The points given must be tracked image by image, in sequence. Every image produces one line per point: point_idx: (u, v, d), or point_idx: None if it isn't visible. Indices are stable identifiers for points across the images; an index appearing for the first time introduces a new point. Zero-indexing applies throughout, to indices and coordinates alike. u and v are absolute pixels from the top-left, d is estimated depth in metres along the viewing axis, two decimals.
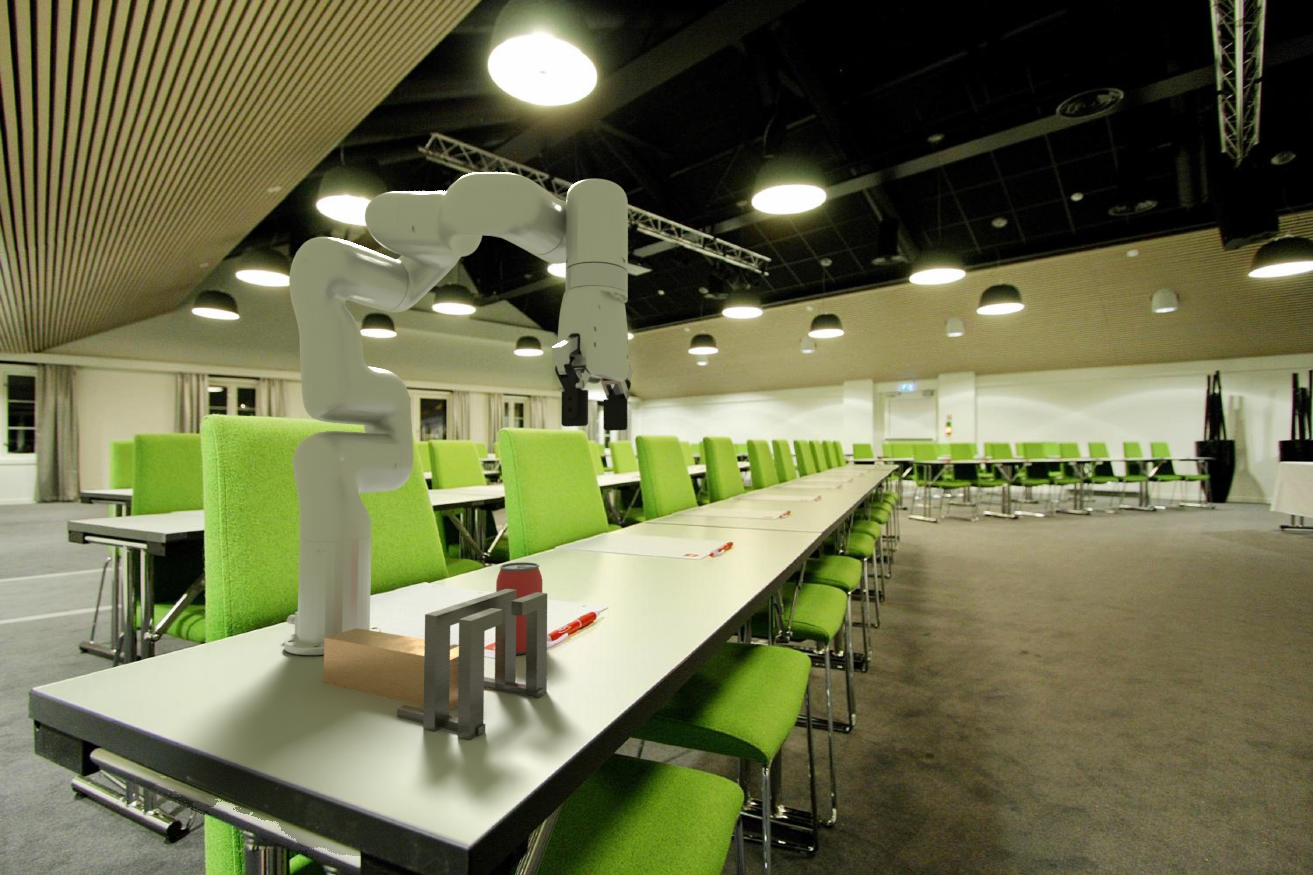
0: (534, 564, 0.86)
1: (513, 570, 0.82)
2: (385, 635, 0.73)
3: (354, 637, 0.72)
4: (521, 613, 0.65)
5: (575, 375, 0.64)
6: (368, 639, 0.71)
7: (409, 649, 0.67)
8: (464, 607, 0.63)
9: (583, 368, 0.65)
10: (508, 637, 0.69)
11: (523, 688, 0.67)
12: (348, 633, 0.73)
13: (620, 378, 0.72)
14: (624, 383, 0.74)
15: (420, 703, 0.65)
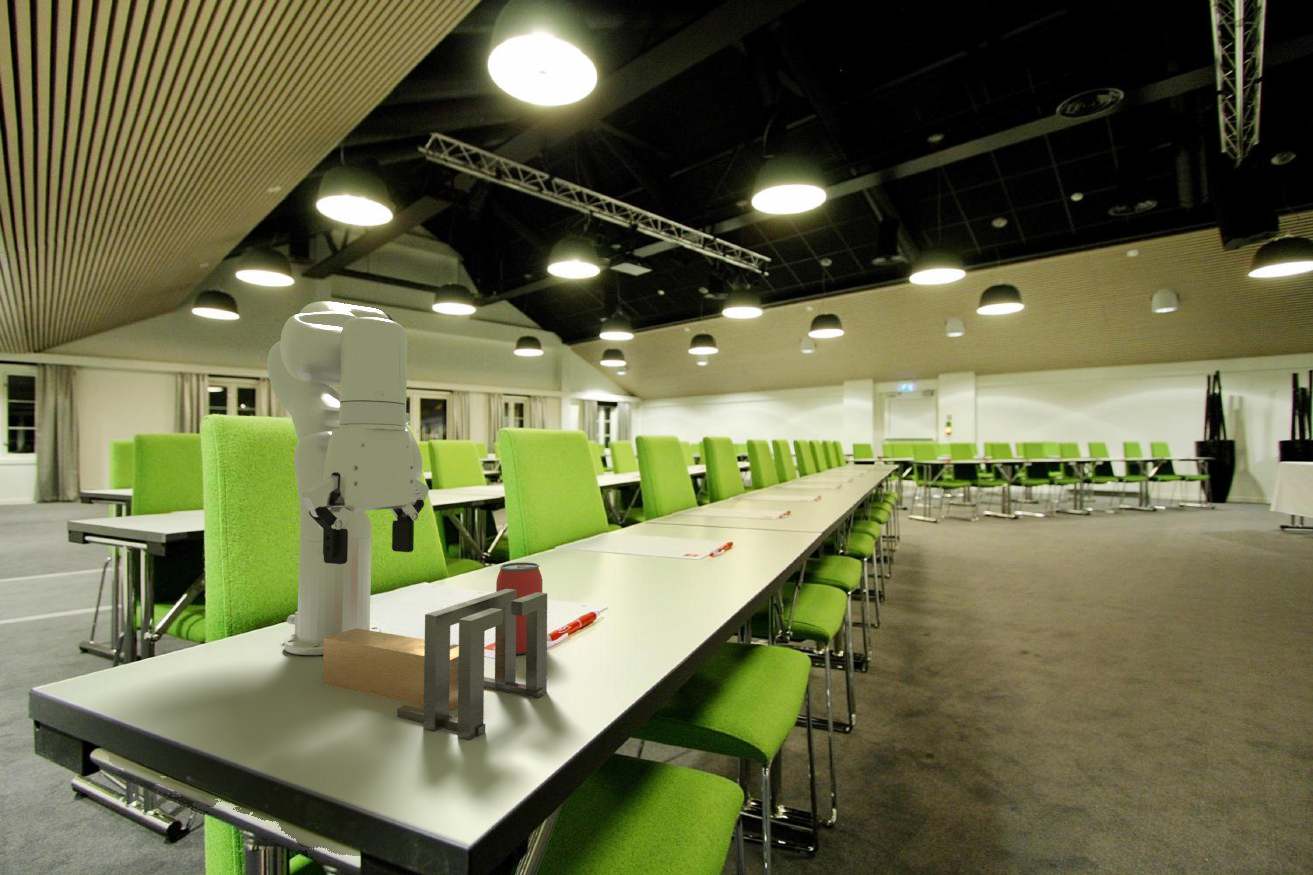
0: (534, 564, 0.86)
1: (513, 570, 0.82)
2: (385, 635, 0.72)
3: (353, 637, 0.72)
4: (521, 613, 0.65)
5: (331, 516, 0.66)
6: (367, 639, 0.71)
7: (409, 649, 0.67)
8: (464, 607, 0.63)
9: (343, 507, 0.67)
10: (508, 637, 0.69)
11: (523, 688, 0.67)
12: (348, 633, 0.73)
13: (399, 505, 0.74)
14: (410, 506, 0.76)
15: (420, 703, 0.65)
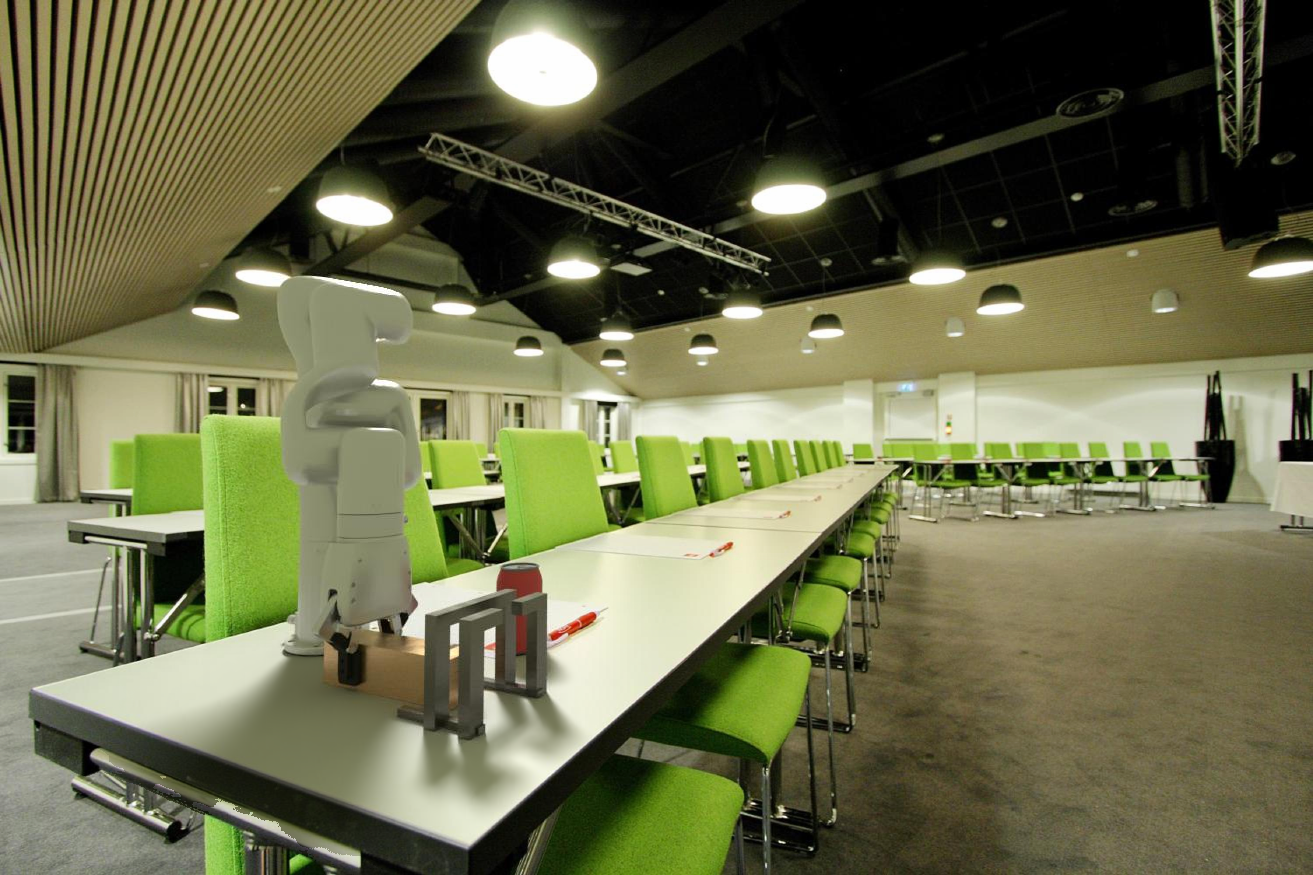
0: (534, 564, 0.86)
1: (513, 570, 0.82)
2: (385, 634, 0.72)
3: None
4: (521, 613, 0.65)
5: (343, 644, 0.67)
6: (368, 639, 0.71)
7: (409, 648, 0.67)
8: (464, 607, 0.63)
9: (350, 630, 0.68)
10: (508, 637, 0.69)
11: (523, 688, 0.67)
12: (348, 633, 0.73)
13: (397, 612, 0.73)
14: (394, 623, 0.73)
15: (420, 703, 0.65)
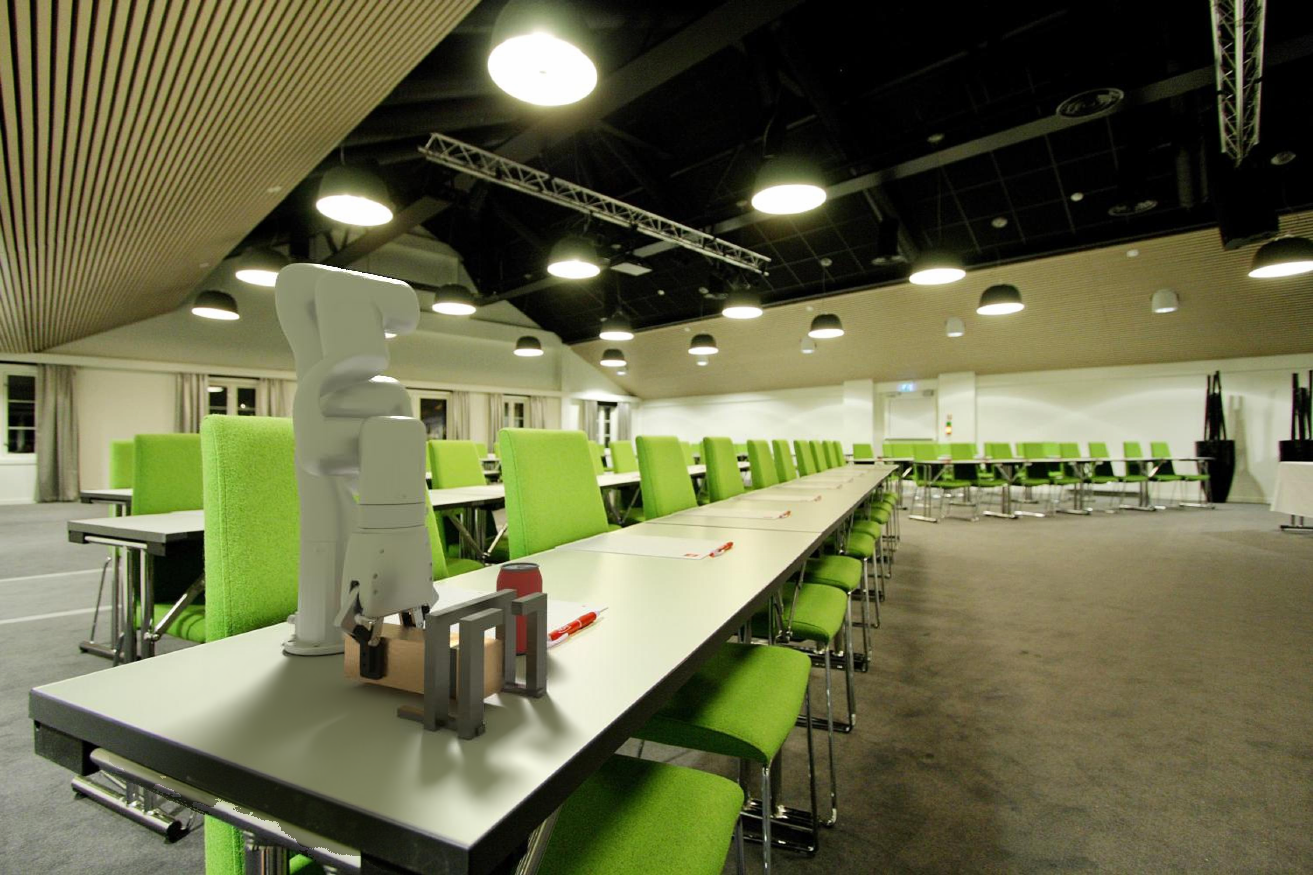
0: (534, 564, 0.86)
1: (513, 570, 0.82)
2: (407, 627, 0.71)
3: None
4: (521, 613, 0.65)
5: (365, 636, 0.66)
6: (389, 632, 0.69)
7: None
8: (464, 607, 0.63)
9: (372, 622, 0.67)
10: (508, 637, 0.69)
11: (523, 688, 0.67)
12: (369, 626, 0.72)
13: (419, 605, 0.72)
14: (415, 616, 0.72)
15: None
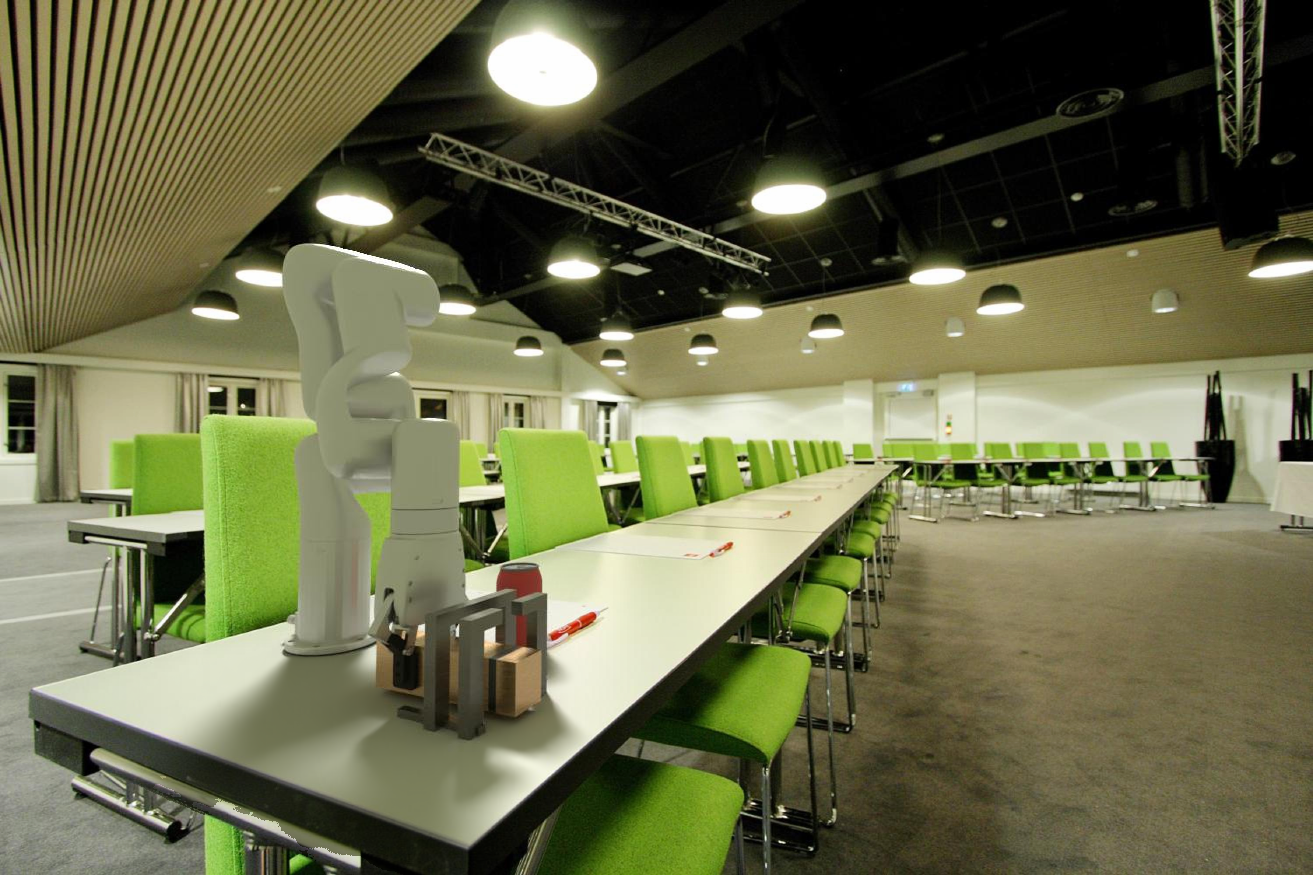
0: (534, 564, 0.86)
1: (513, 570, 0.82)
2: None
3: None
4: (521, 613, 0.65)
5: (399, 645, 0.64)
6: (423, 640, 0.67)
7: None
8: (464, 607, 0.63)
9: (407, 631, 0.64)
10: (508, 637, 0.69)
11: None
12: None
13: None
14: None
15: (484, 708, 0.61)
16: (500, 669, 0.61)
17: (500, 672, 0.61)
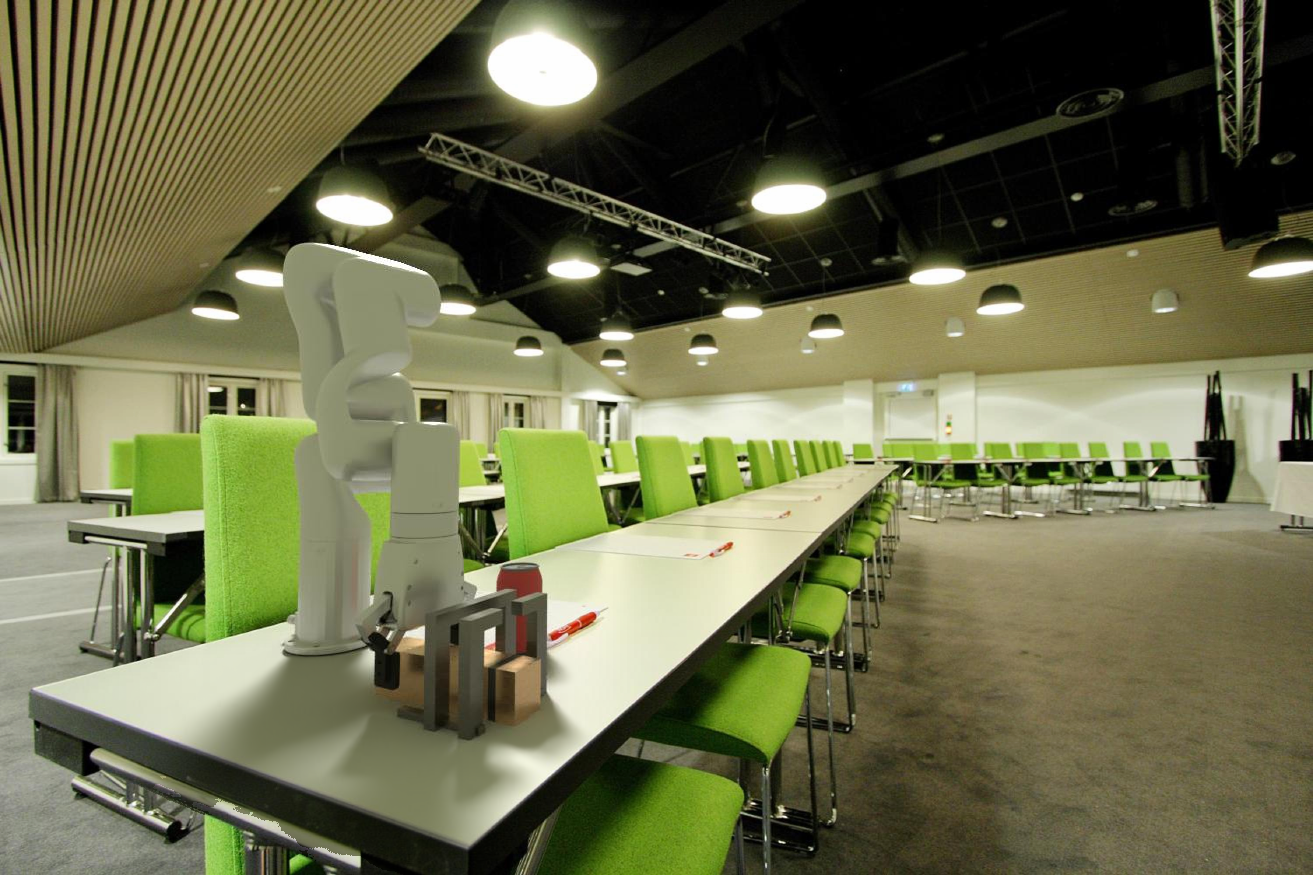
0: (534, 564, 0.86)
1: (513, 570, 0.82)
2: None
3: (407, 646, 0.68)
4: (521, 613, 0.65)
5: (384, 640, 0.62)
6: (422, 649, 0.67)
7: None
8: (464, 607, 0.63)
9: (395, 628, 0.64)
10: (508, 637, 0.69)
11: None
12: None
13: None
14: None
15: None
16: (500, 679, 0.61)
17: (499, 681, 0.61)
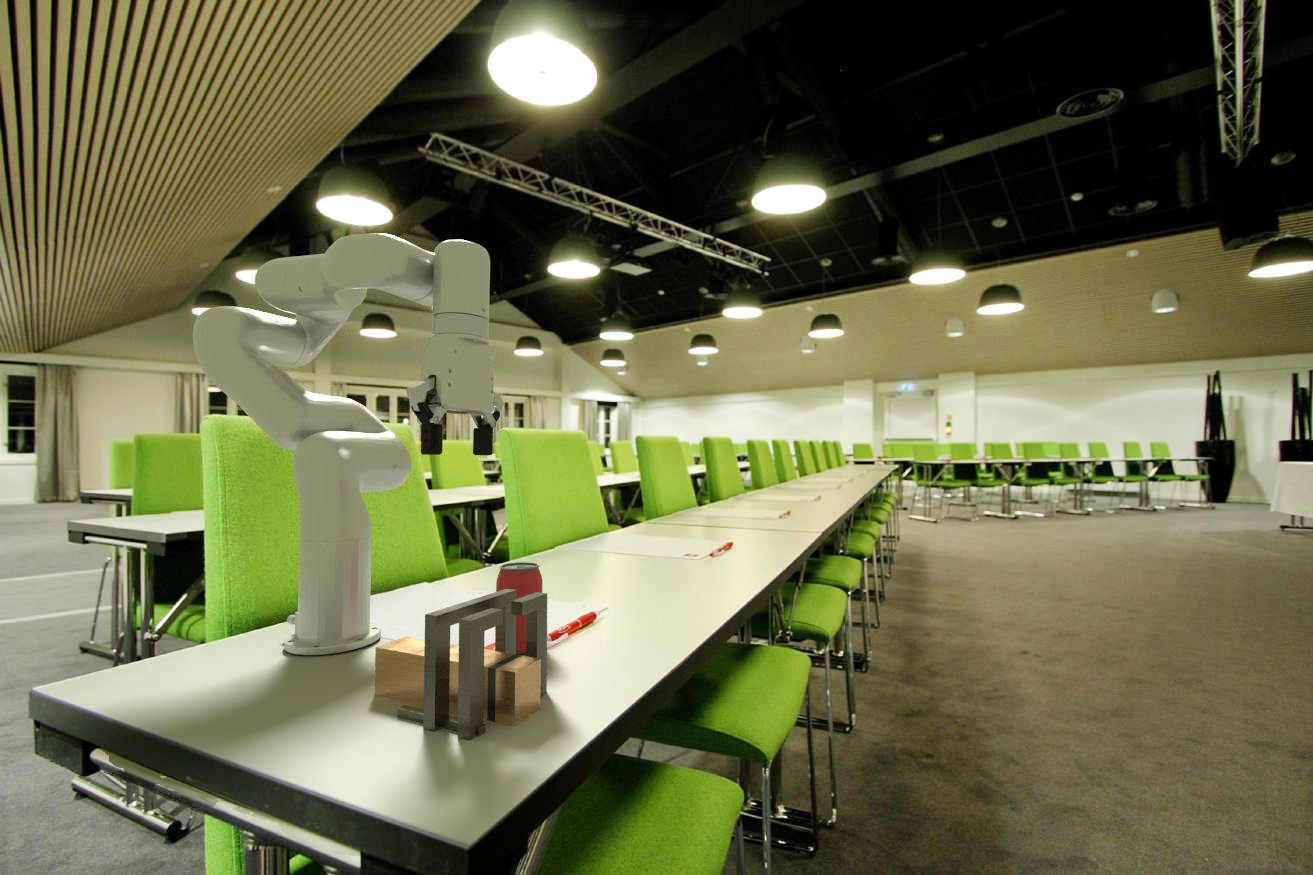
0: (534, 564, 0.86)
1: (513, 570, 0.82)
2: None
3: (407, 647, 0.68)
4: (521, 613, 0.65)
5: (429, 411, 0.75)
6: (422, 649, 0.67)
7: None
8: (464, 607, 0.63)
9: (439, 405, 0.76)
10: (508, 637, 0.69)
11: None
12: (399, 642, 0.70)
13: (482, 411, 0.82)
14: (490, 414, 0.85)
15: None
16: (500, 679, 0.61)
17: (499, 681, 0.61)
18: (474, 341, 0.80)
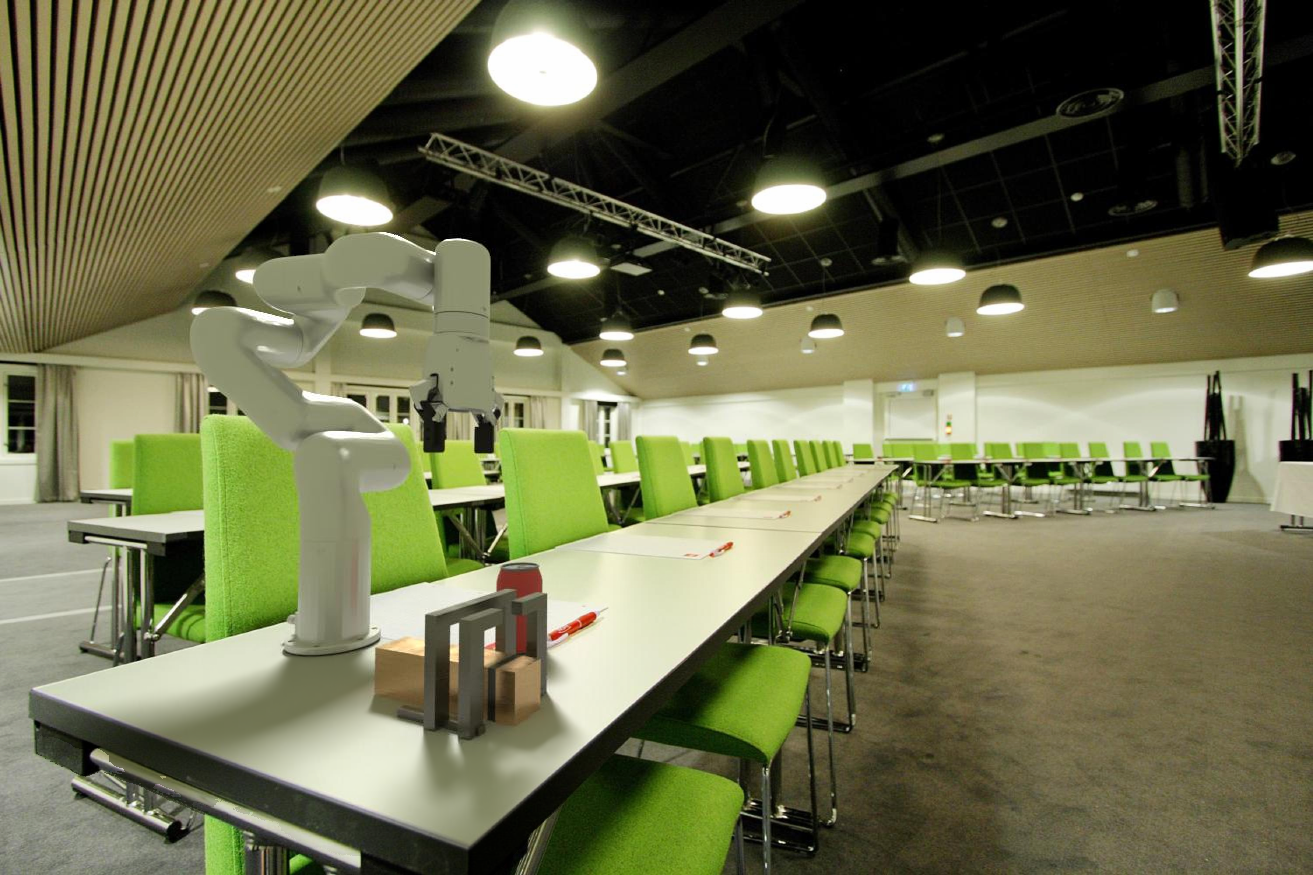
0: (534, 564, 0.86)
1: (513, 570, 0.82)
2: None
3: (406, 647, 0.68)
4: (521, 613, 0.65)
5: (432, 409, 0.75)
6: (422, 649, 0.67)
7: None
8: (464, 607, 0.63)
9: (441, 403, 0.76)
10: (508, 637, 0.69)
11: None
12: (399, 642, 0.70)
13: (484, 409, 0.83)
14: (491, 412, 0.85)
15: None
16: (499, 679, 0.61)
17: (499, 681, 0.61)
18: (475, 340, 0.80)
